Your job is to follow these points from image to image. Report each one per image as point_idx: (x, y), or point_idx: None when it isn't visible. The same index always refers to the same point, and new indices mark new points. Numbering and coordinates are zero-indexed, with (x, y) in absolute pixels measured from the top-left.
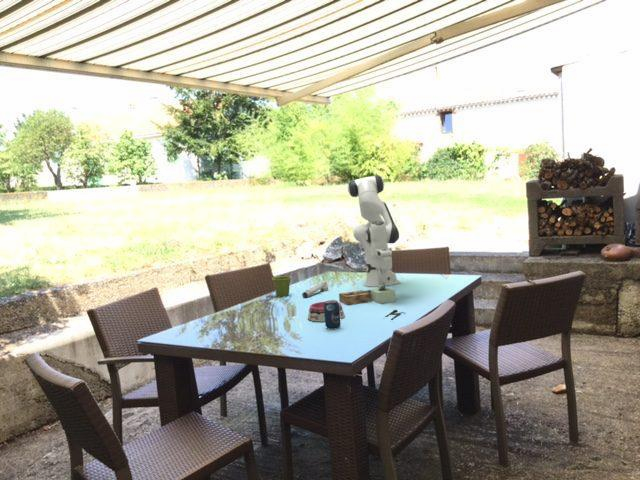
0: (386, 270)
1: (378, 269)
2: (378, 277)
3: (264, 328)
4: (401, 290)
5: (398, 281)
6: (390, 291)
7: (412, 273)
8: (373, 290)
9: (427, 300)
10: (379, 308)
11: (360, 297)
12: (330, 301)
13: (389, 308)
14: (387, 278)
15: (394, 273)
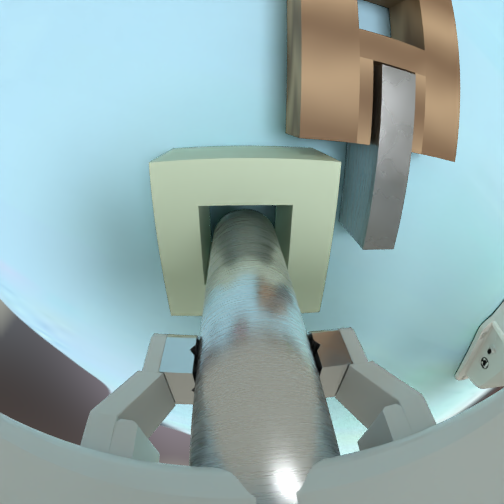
0: (502, 379)
1: (241, 440)
2: (252, 298)
3: None
4: (386, 364)
5: (461, 376)
6: (165, 278)
7: (474, 402)
8: (294, 170)
9: (126, 365)
10: (58, 111)
11: (295, 42)
12: None
13: (35, 163)
14: (487, 360)
15: (480, 388)
